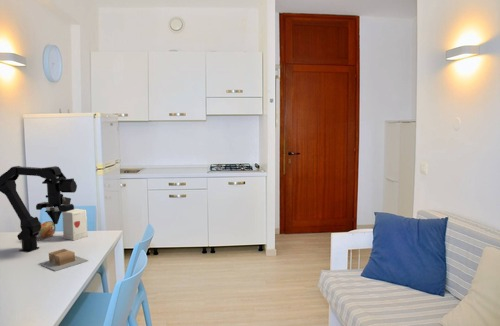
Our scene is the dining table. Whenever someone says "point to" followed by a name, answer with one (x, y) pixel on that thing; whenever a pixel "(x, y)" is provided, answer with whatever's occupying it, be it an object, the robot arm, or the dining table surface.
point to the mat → (57, 267)
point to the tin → (46, 230)
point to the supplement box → (75, 224)
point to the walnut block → (61, 257)
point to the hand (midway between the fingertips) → (56, 224)
